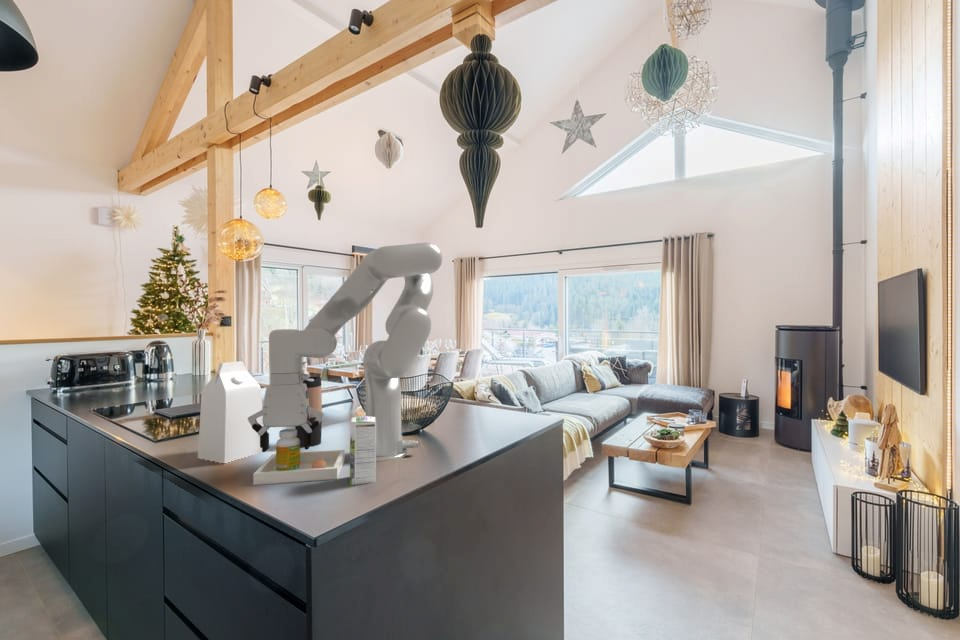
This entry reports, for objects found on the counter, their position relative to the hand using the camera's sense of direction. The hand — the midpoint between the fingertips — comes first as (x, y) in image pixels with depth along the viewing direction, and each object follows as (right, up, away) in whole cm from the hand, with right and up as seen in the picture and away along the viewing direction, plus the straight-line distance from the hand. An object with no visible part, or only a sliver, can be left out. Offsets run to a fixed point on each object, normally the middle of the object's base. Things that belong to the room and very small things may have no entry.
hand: (286, 449), depth 106 cm
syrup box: (+21, -6, -6) cm, 22 cm away
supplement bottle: (0, -5, 0) cm, 5 cm away
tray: (+4, -6, 0) cm, 7 cm away
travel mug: (-5, -6, +26) cm, 27 cm away
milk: (-22, -6, +15) cm, 28 cm away
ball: (+8, -5, -1) cm, 10 cm away
